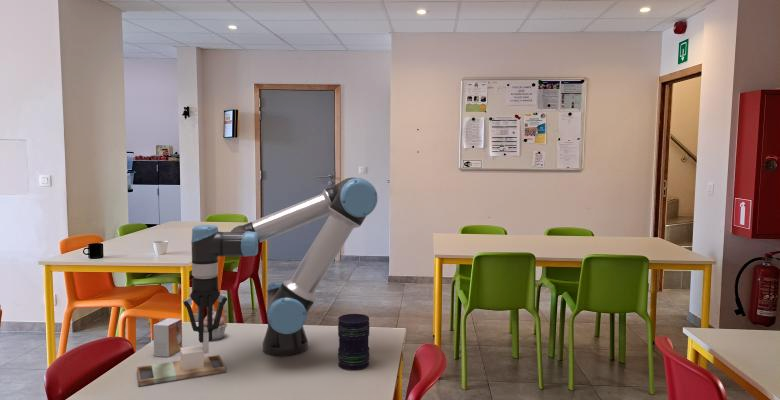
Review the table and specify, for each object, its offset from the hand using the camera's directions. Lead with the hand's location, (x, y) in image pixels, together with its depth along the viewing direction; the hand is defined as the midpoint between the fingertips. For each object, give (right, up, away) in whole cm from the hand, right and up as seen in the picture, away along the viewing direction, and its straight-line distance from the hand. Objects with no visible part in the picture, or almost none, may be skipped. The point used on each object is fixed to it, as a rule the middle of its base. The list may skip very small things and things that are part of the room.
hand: (205, 352), depth 168 cm
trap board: (-6, -5, -3) cm, 9 cm away
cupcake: (-7, -3, +29) cm, 30 cm away
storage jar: (+45, -5, +4) cm, 46 cm away
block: (-4, -4, -2) cm, 5 cm away
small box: (-17, -4, +14) cm, 22 cm away
